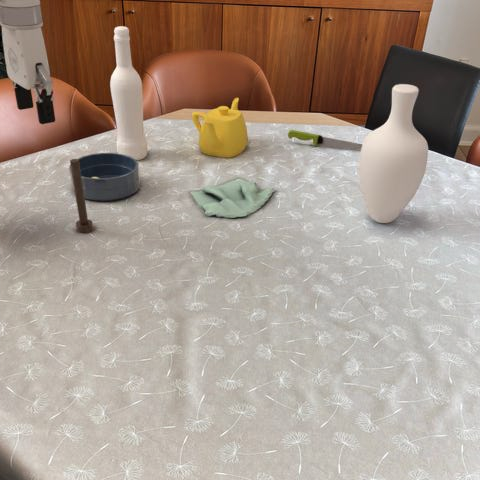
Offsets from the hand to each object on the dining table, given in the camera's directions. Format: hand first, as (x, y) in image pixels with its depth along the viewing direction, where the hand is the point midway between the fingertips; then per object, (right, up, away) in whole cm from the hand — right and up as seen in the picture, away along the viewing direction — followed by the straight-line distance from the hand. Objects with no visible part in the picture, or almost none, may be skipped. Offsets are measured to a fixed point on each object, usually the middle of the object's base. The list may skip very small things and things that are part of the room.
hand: (36, 115), depth 129 cm
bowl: (+8, -4, +30) cm, 31 cm away
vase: (+73, -15, +20) cm, 77 cm away
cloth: (+39, -7, +27) cm, 48 cm away
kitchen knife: (+65, +16, +52) cm, 85 cm away
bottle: (+12, +11, +45) cm, 48 cm away
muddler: (+6, -18, +14) cm, 24 cm away
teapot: (+35, +15, +50) cm, 63 cm away
